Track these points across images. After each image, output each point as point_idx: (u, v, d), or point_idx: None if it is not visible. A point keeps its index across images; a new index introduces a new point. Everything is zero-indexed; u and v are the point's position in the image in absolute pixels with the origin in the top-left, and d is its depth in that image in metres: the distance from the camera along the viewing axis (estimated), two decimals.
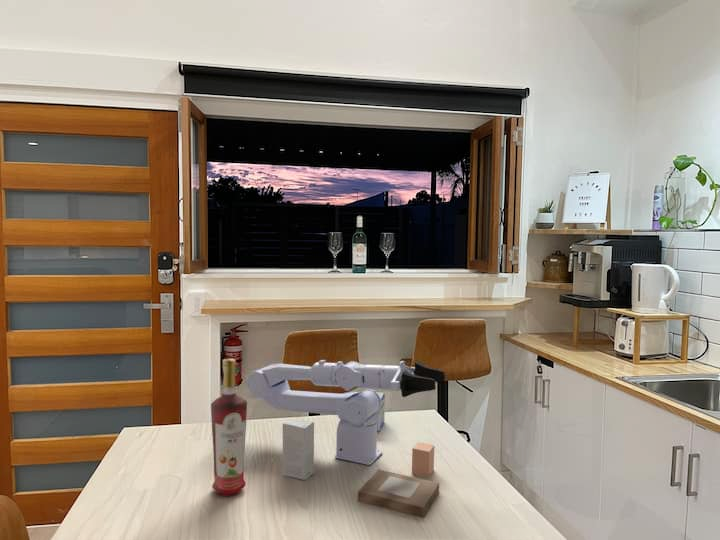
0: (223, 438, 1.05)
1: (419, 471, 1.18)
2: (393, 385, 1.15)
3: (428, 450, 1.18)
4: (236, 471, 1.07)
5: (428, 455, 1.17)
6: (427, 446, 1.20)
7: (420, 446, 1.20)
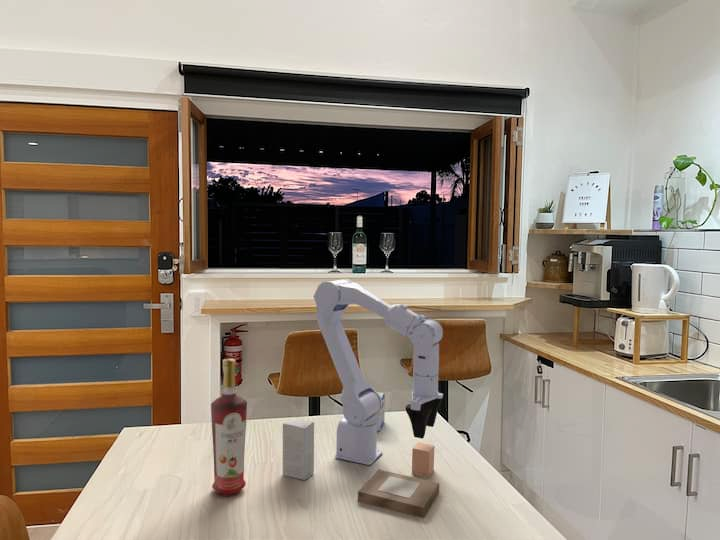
0: (223, 438, 1.05)
1: (419, 471, 1.18)
2: (416, 404, 1.12)
3: (428, 450, 1.18)
4: (236, 471, 1.07)
5: (428, 455, 1.17)
6: (427, 446, 1.20)
7: (420, 446, 1.20)
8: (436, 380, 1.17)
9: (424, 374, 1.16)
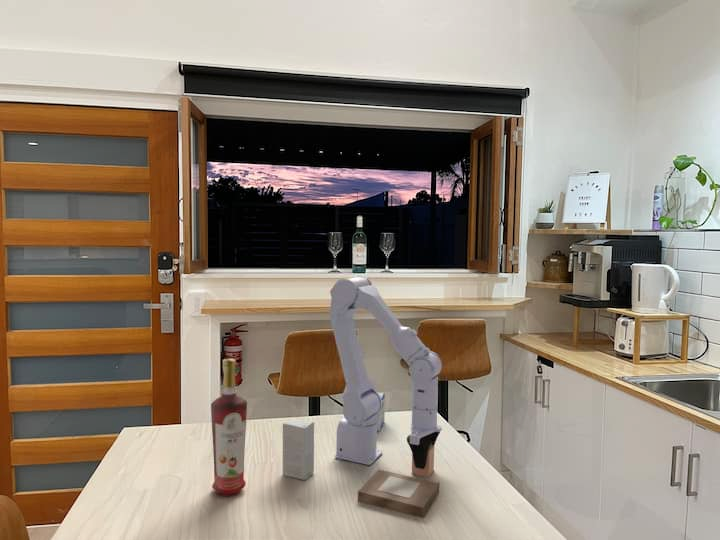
0: (223, 438, 1.05)
1: (419, 471, 1.18)
2: (415, 439, 1.13)
3: None
4: (236, 471, 1.07)
5: (428, 455, 1.17)
6: None
7: None
8: (435, 413, 1.17)
9: (423, 408, 1.16)
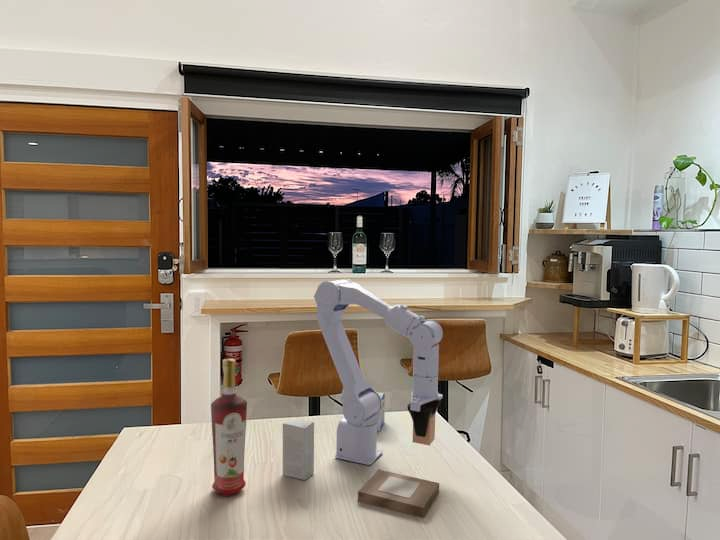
0: (223, 438, 1.05)
1: (420, 439, 1.18)
2: (415, 405, 1.12)
3: (429, 418, 1.17)
4: (236, 471, 1.07)
5: (429, 423, 1.17)
6: None
7: None
8: (436, 381, 1.17)
9: (424, 375, 1.16)
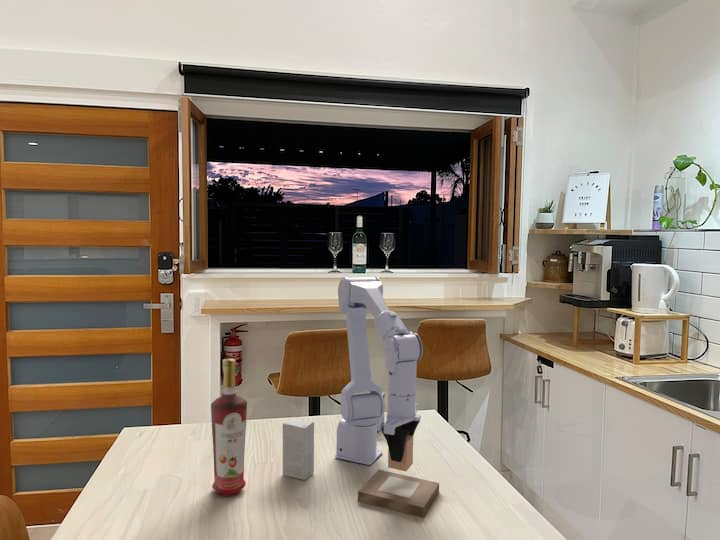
0: (223, 438, 1.05)
1: (396, 464, 1.07)
2: (389, 428, 1.01)
3: (406, 441, 1.06)
4: (236, 471, 1.07)
5: (406, 447, 1.05)
6: None
7: None
8: (413, 400, 1.06)
9: (391, 392, 1.05)
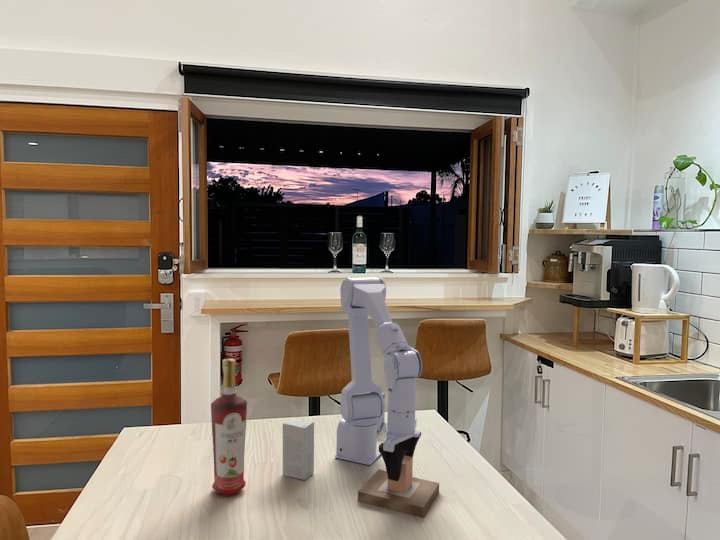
0: (223, 438, 1.05)
1: (395, 486, 1.07)
2: (389, 445, 1.01)
3: (405, 463, 1.06)
4: (236, 471, 1.07)
5: (405, 468, 1.06)
6: (405, 458, 1.08)
7: None
8: (412, 417, 1.06)
9: (391, 408, 1.06)
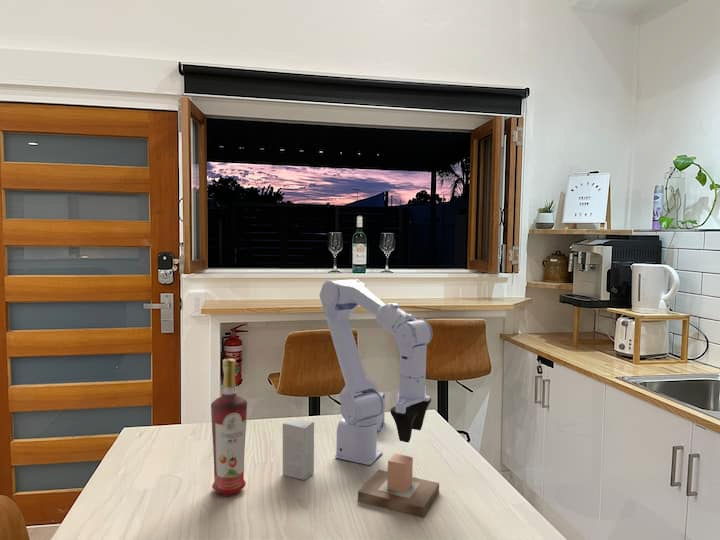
0: (223, 438, 1.05)
1: (395, 486, 1.07)
2: (401, 407, 1.08)
3: (405, 463, 1.06)
4: (236, 471, 1.07)
5: (405, 468, 1.06)
6: (405, 458, 1.08)
7: (396, 458, 1.08)
8: (423, 382, 1.13)
9: (406, 375, 1.12)
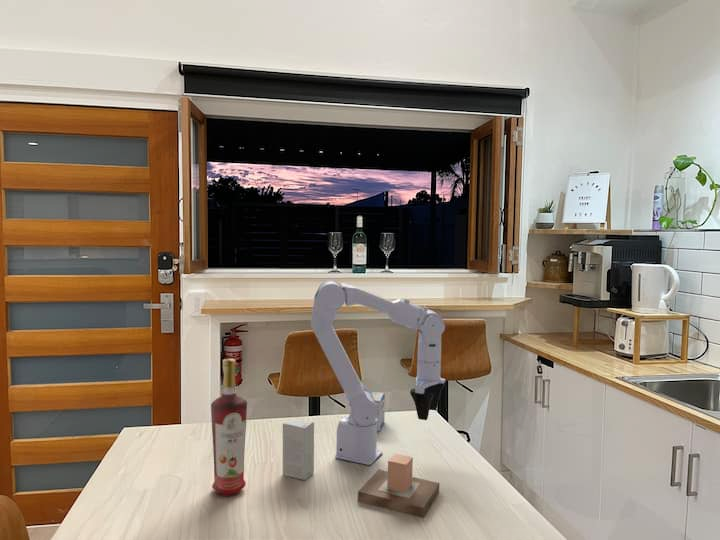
0: (223, 438, 1.05)
1: (395, 486, 1.07)
2: (420, 388, 1.21)
3: (405, 463, 1.06)
4: (236, 471, 1.07)
5: (405, 468, 1.06)
6: (405, 458, 1.08)
7: (396, 458, 1.08)
8: (439, 366, 1.26)
9: (434, 360, 1.25)
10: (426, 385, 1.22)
